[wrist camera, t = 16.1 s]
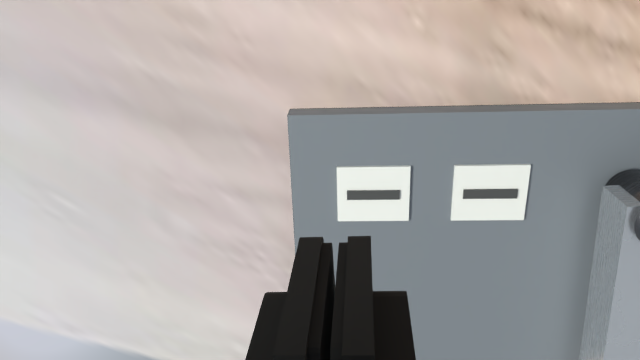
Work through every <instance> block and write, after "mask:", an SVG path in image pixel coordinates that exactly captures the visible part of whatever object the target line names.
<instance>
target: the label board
mask: <svg viewBox="0 0 640 360" xmlns="http://www.w3.org/2000/svg"><path fill="white" fill-rule="evenodd" d="M287 117H288V134H289V152H290V169H291V187H292V204H293V222H294V239H295V255H296V251H297V246H298V242H299V238H300V237H323V239H324V243H332V246H333V261H334V276H335V284H336V272H337V260H338V248H339V242H348V236H371V255H372V286H373V291H406V292H407V296H408V304H409V311H410V319H411V326H412V334H413V341H414V349H415V356H416V360H579V358H580V350H581V343H582V336H583V328H584V321H585V313H586V306H587V298H588V291H589V284H590V276H591V269H592V261H593V254H594V247H595V239H596V232H597V224H598V217H599V210H600V202H601V195H602V187H603V186H605V184H606V183H607V182H608V180H609V179H610V178H611V177H613V176H614V175H616V174H617V173H619V172H622V171H624V170H630V169H637V170H640V102H633V103H580V104H528V105H475V106H423V107H370V108H317V109H290V110H289V113H288V115H287Z"/></svg>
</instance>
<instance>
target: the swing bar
mask: <svg viewBox="0 0 640 360" xmlns="http://www.w3.org/2000/svg"><path fill="white" fill-rule="evenodd" d="M579 360H640V170H637V169H630V170H624V171H622V172H619V173H617V174H616V175H614V176H613V177H611V178H610V179H609V180H608V182H607V183H606V184H605V186H603V187H602V195H601V202H600V210H599V217H598V224H597V232H596V239H595V247H594V254H593V261H592V269H591V276H590V284H589V291H588V298H587V306H586V313H585V321H584V328H583V336H582V343H581V350H580V358H579Z"/></svg>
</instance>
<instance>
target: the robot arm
mask: <svg viewBox="0 0 640 360" xmlns="http://www.w3.org/2000/svg"><path fill="white" fill-rule="evenodd" d="M246 360H416V356H415V349H414V341H413V334H412V326H411V319H410V311H409V304H408V296H407V292H406V291H373V286H372V255H371V236H348V242H339V248H338V260H337V272H336V284H335V276H334V261H333V246H332V243H324V239H323V237H300V238H299V242H298V246H297V251H296V255H295V260H294V264H293V269H292V273H291V278H290V282H289V286H288V291H287V292H267V293H265V295H264V298H263V301H262V305H261V308H260V311H259V315H258V318H257V322H256V325H255V329H254V332H253V336H252V339H251V342H250V346H249V349H248V353H247V356H246Z"/></svg>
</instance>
